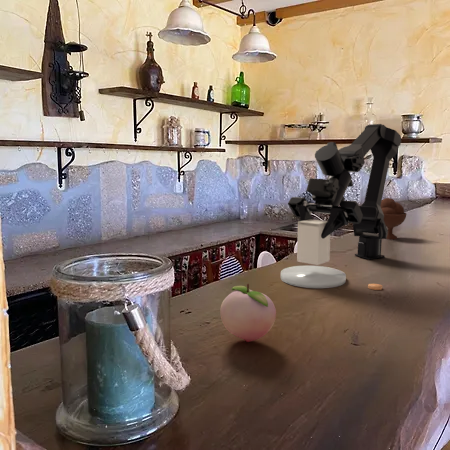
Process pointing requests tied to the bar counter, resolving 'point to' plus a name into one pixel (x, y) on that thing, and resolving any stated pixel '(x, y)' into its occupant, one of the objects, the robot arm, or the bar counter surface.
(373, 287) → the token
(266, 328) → the decorative fruit
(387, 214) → the ice cream bowl
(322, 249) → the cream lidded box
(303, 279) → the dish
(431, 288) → the bar counter surface
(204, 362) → the bar counter surface
